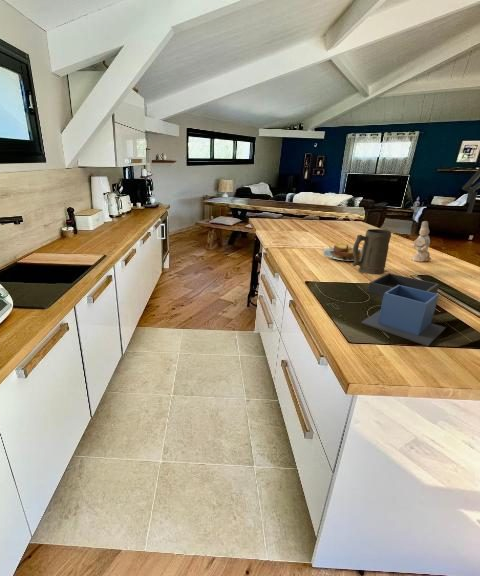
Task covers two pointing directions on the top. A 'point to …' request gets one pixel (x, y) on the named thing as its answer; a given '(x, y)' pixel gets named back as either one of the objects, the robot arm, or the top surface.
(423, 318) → the blue bin
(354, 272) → the top surface
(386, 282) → the charcoal bin
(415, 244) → the figurine
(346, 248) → the food on plate
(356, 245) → the beer stein
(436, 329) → the mat
